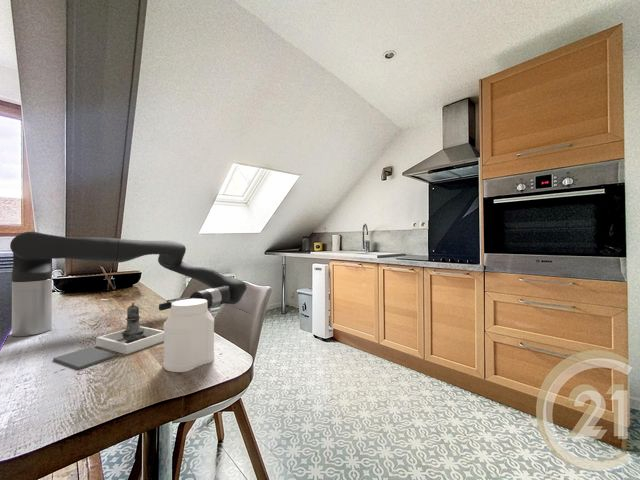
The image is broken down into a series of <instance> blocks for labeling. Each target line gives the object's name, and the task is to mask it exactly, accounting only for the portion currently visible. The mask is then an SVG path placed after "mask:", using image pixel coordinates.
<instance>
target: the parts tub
mask: <svg viewBox="0 0 640 480" xmlns="http://www.w3.org/2000/svg"><path fill="white" fill-rule="evenodd" d="M140 327H141V328H144V329H145V330H144V333H143V335H142V336H141V337H145V338H139V339H140V340H137V341H134V342H131V343H128V344H127V343H124V342H123V341H121V340H125V339H124V338H123V336H122V334H121V332H122V331H124V330H126V328H125V329H122V330H118V331H115V332H111V333H107V334H104V335H100V336H96V342H95V343H96V344H95V345H96V347H98V348H101V349H106V350H108V351H113V352H117V353H121V354H123V355H129V354H131V353H135V352H138V351H140V350H143V349H145V348H149V347H151V346H155V345H157V344H160V343H164V330H161V329H156V328H151V327H147V326H143V325H140Z"/></svg>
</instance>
